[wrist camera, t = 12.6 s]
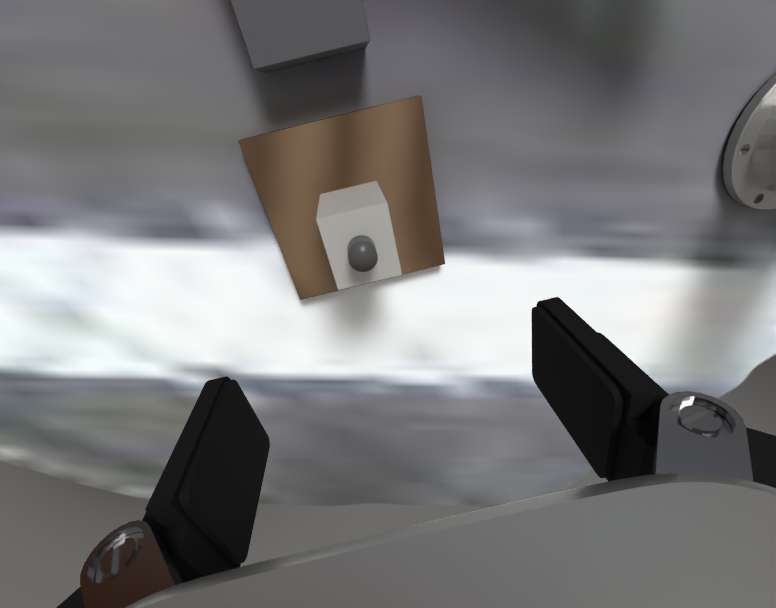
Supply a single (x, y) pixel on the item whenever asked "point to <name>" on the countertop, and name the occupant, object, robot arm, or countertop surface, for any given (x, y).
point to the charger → (358, 235)
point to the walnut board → (347, 184)
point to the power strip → (299, 30)
